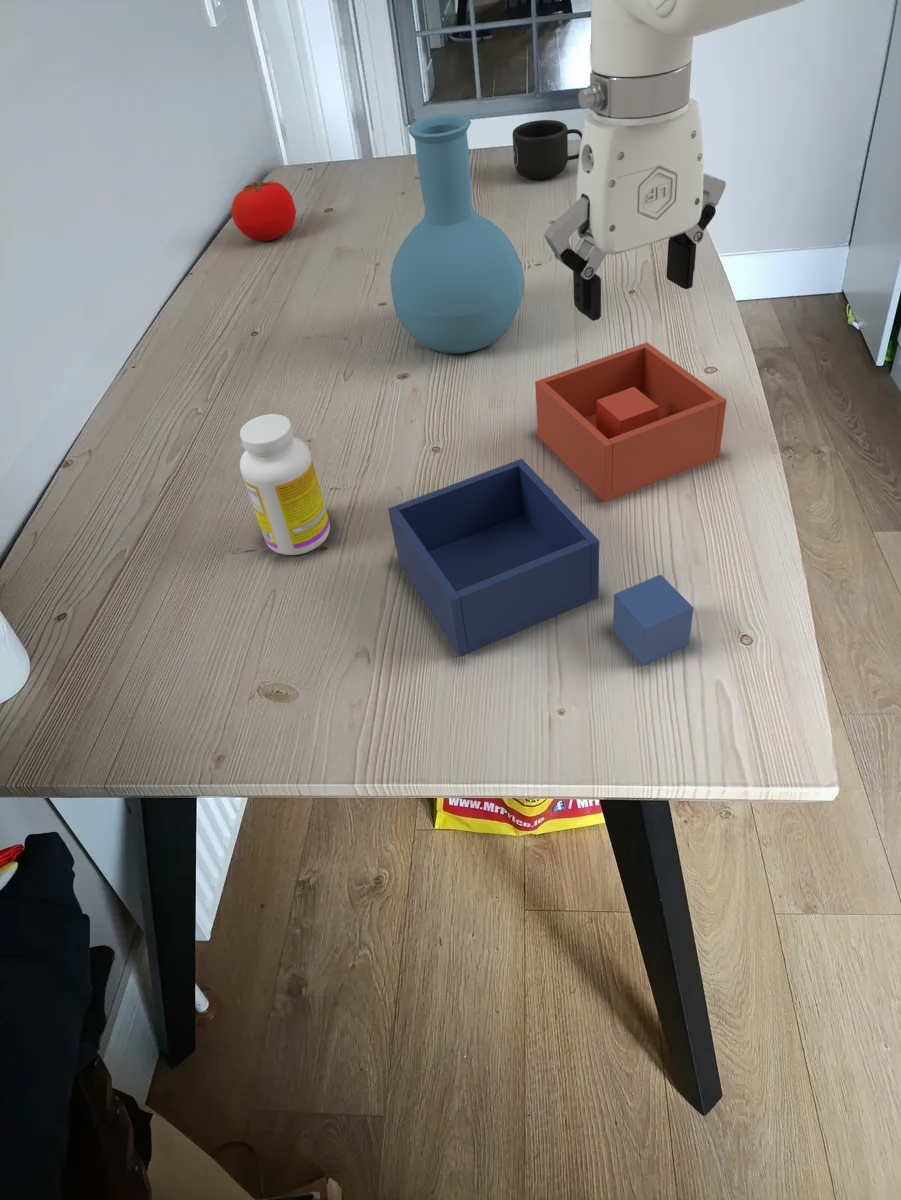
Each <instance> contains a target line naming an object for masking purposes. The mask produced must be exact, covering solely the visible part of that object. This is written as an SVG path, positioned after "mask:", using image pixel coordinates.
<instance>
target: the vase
mask: <svg viewBox="0 0 901 1200" xmlns="http://www.w3.org/2000/svg"><path fill="white" fill-rule="evenodd" d="M471 124H472V121H471V119H470V118H469V117H467V116H465V115H462V114H456V113H455V114H454V113H452V114H451V113H450V114H449V113H447V114H437V115H430V116H427V117H423V118H421V119H418V120H416V121H414V122H412V123H411V124H410V125H409V127H408V128H407V130H408V133H409V135H410V136H411V137H412V138H413V139H414V146H415V154H416V155H415V156H416V163H417V170H418V176H419V183H420V190H421V195H422V201H423V206H424V211H423V213H424V216H423V218H422V220H421V221H420V222H418V223H417V224H416V225H414V227H413V228H412V229H411V230H410V232H409V233H408V234H407V235H406V236H405V238H404V240H403V241H402V243H401V244H400V246H399V247H398V250H397V251H396V254H395V256H394V258H393V260H392V266H391V271H390V275H389V277H390V289H391V290H390V291H391V298H392V302H393V307H394V310H395V314H396V317H397V318H398V320H399V322H400V323H401V325H402V327H403V328H404V329H405V330H406V331H407V332H408V333H409V334H410V335H411V336H412V337H413V339H415V341H416V342H417V343H419V344H420V345H421V346H422V347H424V348H426V349H428V350H431V351H435V352H439V353H443V354H457V355H459V354H461V355H462V354H467V353H472V352H477V351H480V350H483V349H484V348H487V347H489V346H491V345H493V344H494V343H495V342H496V341H498V340H499V339H500V338H502V337H503V335H505V334H506V333H507V332H508V330H509V329H510V327H511V325H512V323H513V321H514V320H515V318H516V315H517V313H518V311H519V308H520V305H521V302H522V300H523V297H524V294H525V274H524V267H523V264H522V261H521V259H520V257H519V254H518V253H517V251H516V249H515V247H514V244H513V243H512V241H511V239H510V238H509V237H508V235H507V234H506V233H505V232H504V231H503V230H502V229H501V228H500V227H499V226H498V225H496V224H495V223H494V222H492V221H491V220H489V218H488V219H487V218H486V217H484V216H482V215H481V214H480V213H478V212H477V211H476V210H475V209H474V206H473V196H472V195H473V194H472V175H471V161H470V160H471V159H470V150H469V139H468V130H469V128H470V126H471Z"/></svg>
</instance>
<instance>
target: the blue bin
mask: <svg viewBox="0 0 901 1200" xmlns="http://www.w3.org/2000/svg"><path fill="white" fill-rule="evenodd" d="M387 510H388V514H389V515H388V516H389V520H390V525H391V530H392V535H393V540H394V545H395V549H396V554H397V559H398V564H399V566H400V567H401V569H402V570H403V572H404V573H405V575H406V577H407V578H408V580H409V581H410V582H411V584H412V586H413V587H414V588H415V590H416V592H417V594H418V595H419V597H420V598H421V599H422V601H423V603H424V604H425V606H426V607H427V609H428V610H429V612H430V613H431V615H432V616H433V619H434V620H435V621H436V623H437V624H438V626H439V627H440V629H441V630H442V632H443V633H444V635H445V637H446V638H447V640H448V641H449V643H450V644H451V646H452V648H453V649H454V650H455V652H456V654H457V655H458V656H459V657H463V656H465V655H467V654H470V653H472V652H474V651H477V650H479V649H481V648H482V649H483V648H485V647H486V646H489V645H491V644H493V643H496V642H499V641H501V640H503V639H506V638H508V637H510V636H512V635H515V634H518V633H519V632H522V631H524V630H526V629H529V628H531V627H535V626H536V625H538V624H540V623H543V622H545V621H548V620H550V619H552V618H555V617H557V616H559V615H562V614H564V613H567V612H569V611H571V610H574V609H577V608H578V607H581V606H583V605H585V604H588V603H591V602H592V601H596V600H597V599H599V588H600V587H599V586H600V584H599V581H600V540H599V538H598V537H597V536H596V535H595V534H594V533H592V531H591V530H590V529H589V528H588V526H586V525H585V524H584V523H583V521H581V519H580V518H578V516H577V515H576V514H575V513H574V512H573V511H572V510H571V509H570V508H569V507H568V506H567V505H566V503H565V502H564V501H562V499H561V498H560V497H559V496H558V495H557V494H556V493H555V492H554V490H552V489H551V488H550V486H548V484H546V482H545V481H544V480H543V479H542V478H541V477H540V475H538V474H537V473H536V472H535V470H533V468H532V467H531V466H530V465H528V463H527V462H526V461H525V460H524V459H523V458H520V459H519V458H518V459H517V460H514V461H511V462H509V463H506V464H504V465H503V464H502V465H501V466H498V467H495V468H492V469H490V470H488V471H485V472H482V473H479V474H477V475H473V476H472V477H469V478H466V479H464V480H461V481H460V480H459V481H458V482H455V483H453V484H450V485H448V486H445V487H442V488H439V489H436V490H434V491H431V492H428V493H425V494H423V495H420V496H417V497H415V498H413V499H412V498H411V499H409V500H407V501H404V502H402V503H399V504H397V505H394V506H390V507H389V508H387Z"/></svg>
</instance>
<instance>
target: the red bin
mask: <svg viewBox="0 0 901 1200" xmlns="http://www.w3.org/2000/svg"><path fill="white" fill-rule="evenodd" d="M534 382H535V383H534V386H535V407H536V426H537V437H538V438H539V439H540V440H541V441H542V442H543V443H544V444H545V445H546V446H547V447H548V448H549V449H550V450H551V451H552V452H553V453H554V454H555V455H556V456H557V457H558V458H559V459H560V460H561V461H562V462H563V463H564V464H565V465H566V466H567V468H569V469H570V470H571V471H572V472H573V473H574V474H575V475H576V476H577V477H578V478H579V479H580V480H581V481H582V482H583V483H584V485H586V486H587V487H588V488H589V489H590V490H591V491H592V492H593V493H594V494H595V495H596V497H598V498H599V499H600V500H601V501H602V502H603V503H606V502H610V501H612V500H614V499H618V498H620V497H622V496H625V495H628V494H630V493H632V492H634V491H637V490H640V489H642V488H644V487H648V486H651V485H652V484H655V483H658V482H660V481H662V480H664V479H667V478H670V477H673V476H675V475H678V474H680V473H683V472H685V471H688V470H690V469H693V468H695V467H699V466H700V465H703V464H706V463H708V462H710V461H713V460H715V459H718V458H720V455H721V448H722V439H723V431H724V424H725V415H726V408H727V399H726V398H724V397H723V396H722V395H720V393H718V392H716V391H715V390H713V389H712V388H711V387H709V386H708V385H706V384H705V383H704V382H703V381H701V380H700V379H698V378H697V377H696V376H694V375H693V374H692V373H690V372H689V371H687V370H686V369H685V368H683V367H682V366H681V365H679V364H678V363H677V362H675V361H673V359H671V358H669V357H668V356H666V354H664V353H662V352H661V351H660V350H659V349H658V348H656V347H654V346H653V345H652V344H650V343H649V342H647V341H646V342H643V343H640V344H638V345H634V346H632V347H629V348H626V349H624V350H621V351H618V352H615V353H612V354H610V355H607V356H604V357H601V358H598V359H596V360H592V361H590V362H587V363H584V364H581V365H578V366H575V367H572V368H570V369H567V370H564V371H560V372H558V373H555V374H553V375H550V376H547V377H544V378H542V379H538V380H535V381H534ZM632 387H635V388H636V389H637V390H639V391H640V392H641V393H642V394H644V395H645V396H646V397H647V398H649V399H650V400H651V401H652V402H654V403H655V404H656V405H657V406H659V412H658V421H656V422H653V423H650V424H648V425H645V426H642V427H640V428H637V429H634V430H632V431H629V432H626V433H624V434H621V435H618V436H616V437H613V438H610V439H609V440H608V439H607V438H606V437H605V436H604V435H603V434H602V433H601V432H599V431H598V430H597V429H596V412H597V400H599V399H602V398H604V397H607V396H610V395H613V394H615V393H618V392H621V391H624V390H626V389H629V388H632Z"/></svg>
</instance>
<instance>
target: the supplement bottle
mask: <svg viewBox="0 0 901 1200" xmlns="http://www.w3.org/2000/svg"><path fill="white" fill-rule="evenodd" d="M294 435H295V434H294V429H293V426H292V423H291V421H290V419H289V418H288V417H286V416H285V415H282V414H276V413H269V414H263V415H258V416H256V417H253V418H252V419H250V420H248V421H246V422H245V423H244V424H243V426H242V427H241V428H240V431H239V437H240V440H241V445H242V447H243V448H244V449H245V450H244V452H243V453H242V455H241V458H240V461H239V470H240V474H241V477H242V479H243V482H244V485H245V487H246V490H247V493H248V496H249V499H250V502H251V505H252V508H253V511H254V513H255V516H256V519H257V522H258V525H259V528H260V531H261V534H262V537H263V539H264V542H265V544H266V545H267V546H268V548H269V549H270V550H271V551H273V552H275V553H277V554H280V555H284V556H285V555H286V556H297V555H303V554H305V553H309V552H311V551H313V550H315V549H316V548H318V547H320V546H321V545H322V544H323V543H324V542H325V541H326V540H327V538H328V537H329V534H330V531H331V530H330V529H331V523H330V518H329V515H328V512H327V507H326V504H325V501H324V498H323V494H322V491H321V487H320V483H319V480H318V476H317V472H316V469H315V466H314V461H313V457H312V454H311V451H310V448H309V447H308V445H306V443H305V442H304V441H302V440H301V439H299V438H297V437H294Z"/></svg>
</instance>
